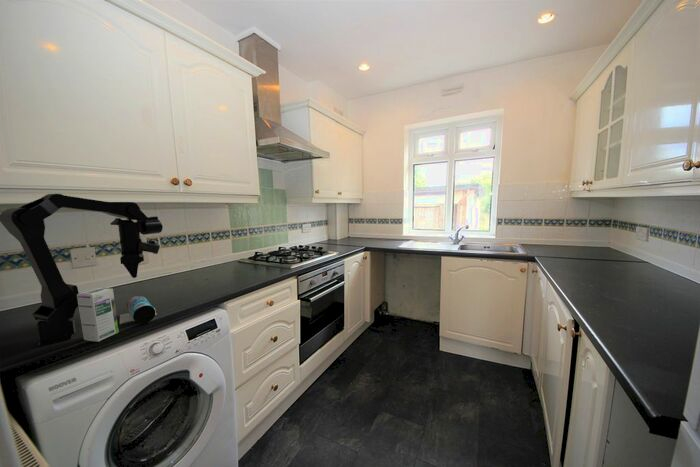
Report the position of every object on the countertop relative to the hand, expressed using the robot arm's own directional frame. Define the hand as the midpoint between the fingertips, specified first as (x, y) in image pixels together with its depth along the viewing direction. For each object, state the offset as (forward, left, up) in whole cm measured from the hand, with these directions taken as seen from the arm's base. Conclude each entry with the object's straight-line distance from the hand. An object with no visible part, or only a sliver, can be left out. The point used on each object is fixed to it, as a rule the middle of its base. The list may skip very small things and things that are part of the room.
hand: (134, 277), depth 97 cm
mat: (0, -7, -13) cm, 14 cm away
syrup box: (-9, -18, -13) cm, 24 cm away
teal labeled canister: (0, -2, -9) cm, 9 cm away
